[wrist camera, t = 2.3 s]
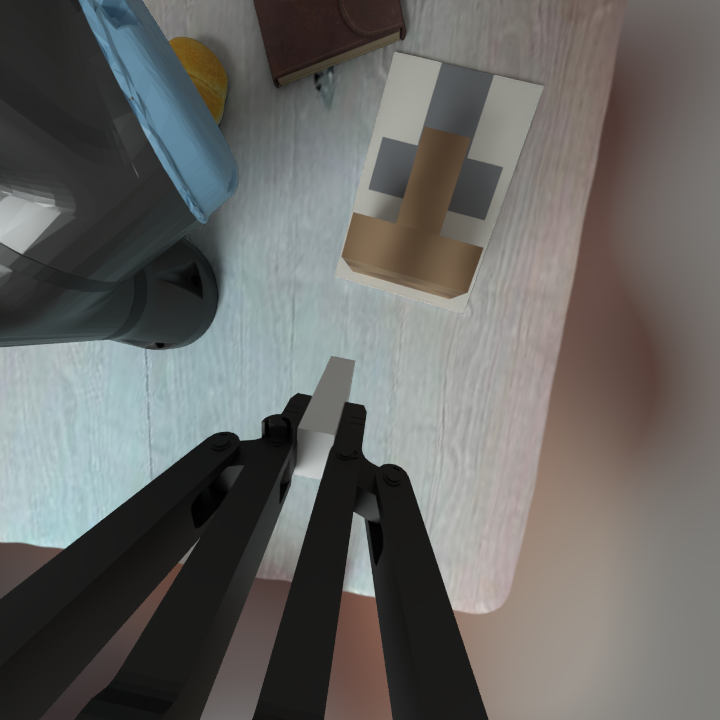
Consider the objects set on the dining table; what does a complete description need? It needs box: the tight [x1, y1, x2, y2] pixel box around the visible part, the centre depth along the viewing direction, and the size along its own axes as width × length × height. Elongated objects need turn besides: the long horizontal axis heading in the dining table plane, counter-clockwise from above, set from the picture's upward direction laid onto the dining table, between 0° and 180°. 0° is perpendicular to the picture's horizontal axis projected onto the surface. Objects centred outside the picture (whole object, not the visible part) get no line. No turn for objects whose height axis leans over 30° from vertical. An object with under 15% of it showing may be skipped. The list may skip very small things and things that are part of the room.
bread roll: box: [169, 37, 228, 125], centre depth 31 cm, size 8×9×4 cm
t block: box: [341, 127, 483, 299], centre depth 28 cm, size 12×12×8 cm
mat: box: [335, 52, 544, 314], centre depth 31 cm, size 16×24×1 cm, turn 164°
